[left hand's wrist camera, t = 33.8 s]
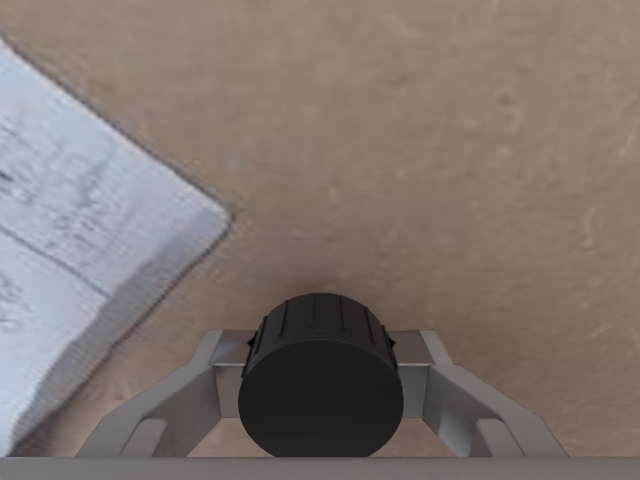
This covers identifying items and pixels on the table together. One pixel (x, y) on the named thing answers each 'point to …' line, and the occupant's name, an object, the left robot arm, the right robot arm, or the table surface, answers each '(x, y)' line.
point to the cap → (321, 380)
